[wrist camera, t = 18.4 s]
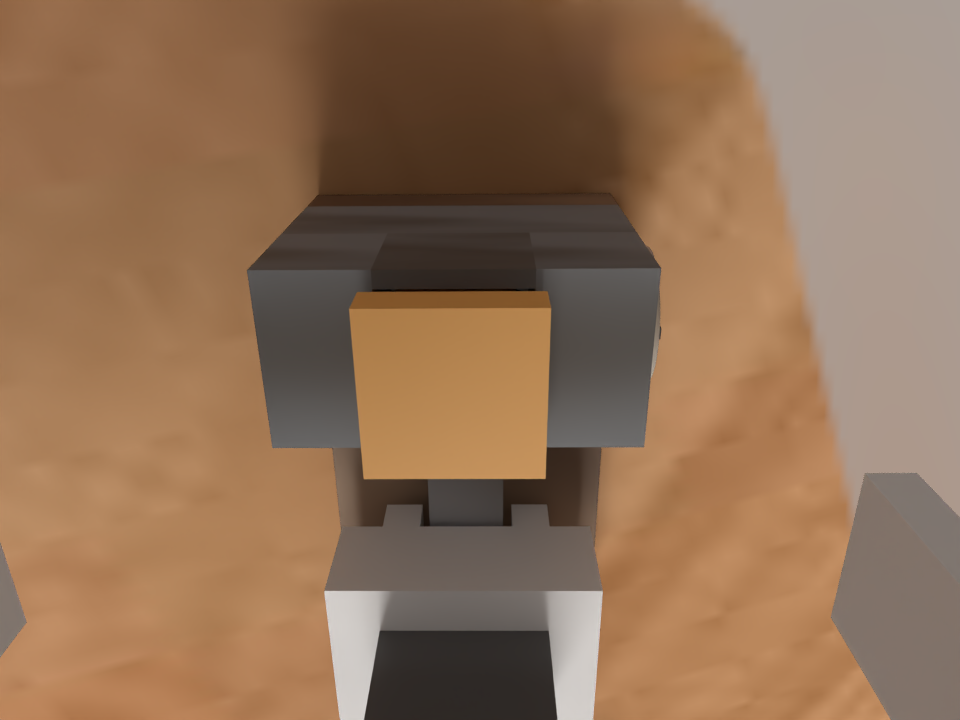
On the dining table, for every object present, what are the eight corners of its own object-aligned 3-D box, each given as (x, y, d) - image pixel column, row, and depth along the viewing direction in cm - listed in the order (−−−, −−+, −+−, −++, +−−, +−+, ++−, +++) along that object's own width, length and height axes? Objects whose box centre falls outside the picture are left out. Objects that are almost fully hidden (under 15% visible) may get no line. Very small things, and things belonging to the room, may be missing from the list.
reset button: (535, 395, 20) (545, 478, 17) (386, 395, 20) (363, 479, 17) (539, 250, 18) (550, 308, 15) (376, 251, 19) (349, 308, 15)
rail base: (581, 828, 36) (603, 1020, 29) (380, 827, 36) (354, 1018, 29) (627, 193, 23) (686, 268, 16) (317, 195, 23) (246, 270, 16)
